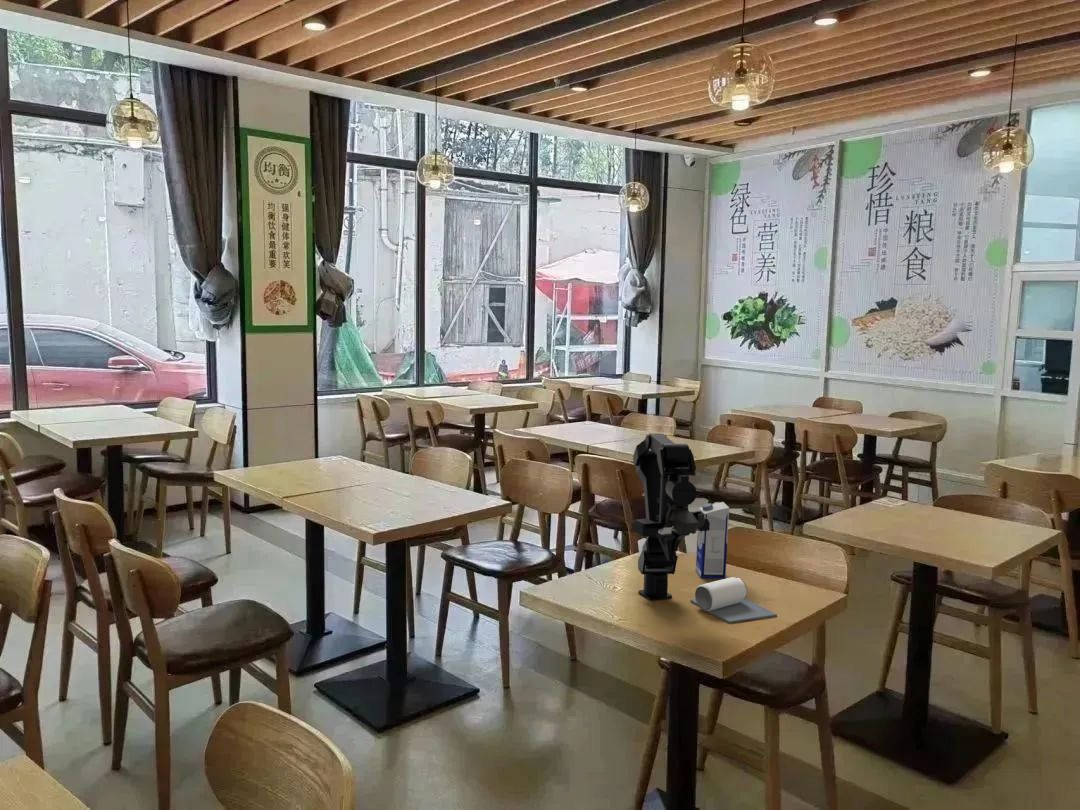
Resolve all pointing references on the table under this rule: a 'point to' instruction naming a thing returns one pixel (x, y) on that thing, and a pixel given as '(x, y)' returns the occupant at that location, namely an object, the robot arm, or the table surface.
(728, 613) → the mat
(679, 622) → the table surface
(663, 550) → the robot arm
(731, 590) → the can
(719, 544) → the milk carton
